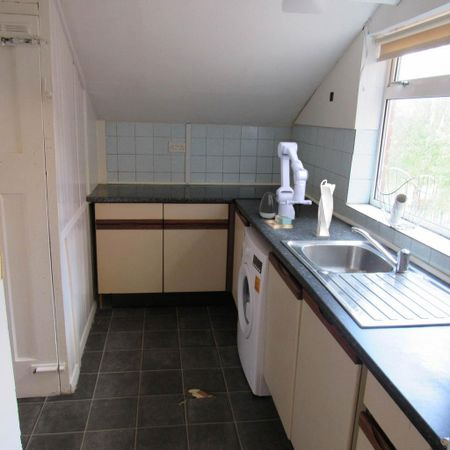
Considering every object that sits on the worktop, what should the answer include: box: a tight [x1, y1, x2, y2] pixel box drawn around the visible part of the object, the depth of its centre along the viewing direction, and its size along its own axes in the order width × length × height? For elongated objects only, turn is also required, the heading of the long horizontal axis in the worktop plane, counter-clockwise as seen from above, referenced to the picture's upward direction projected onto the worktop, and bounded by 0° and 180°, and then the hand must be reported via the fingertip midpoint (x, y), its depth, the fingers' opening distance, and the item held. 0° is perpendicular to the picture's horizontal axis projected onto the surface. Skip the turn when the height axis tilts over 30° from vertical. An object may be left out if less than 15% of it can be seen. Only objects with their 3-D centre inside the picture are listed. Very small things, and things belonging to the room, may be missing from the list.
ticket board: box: [264, 214, 293, 230], centre depth 238 cm, size 11×13×5 cm
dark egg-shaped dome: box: [258, 191, 278, 219], centre depth 255 cm, size 10×10×15 cm
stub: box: [279, 217, 293, 225], centre depth 236 cm, size 5×5×3 cm
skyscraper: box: [312, 179, 336, 239], centre depth 218 cm, size 8×8×28 cm
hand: (297, 217), depth 237 cm, fingers closed
